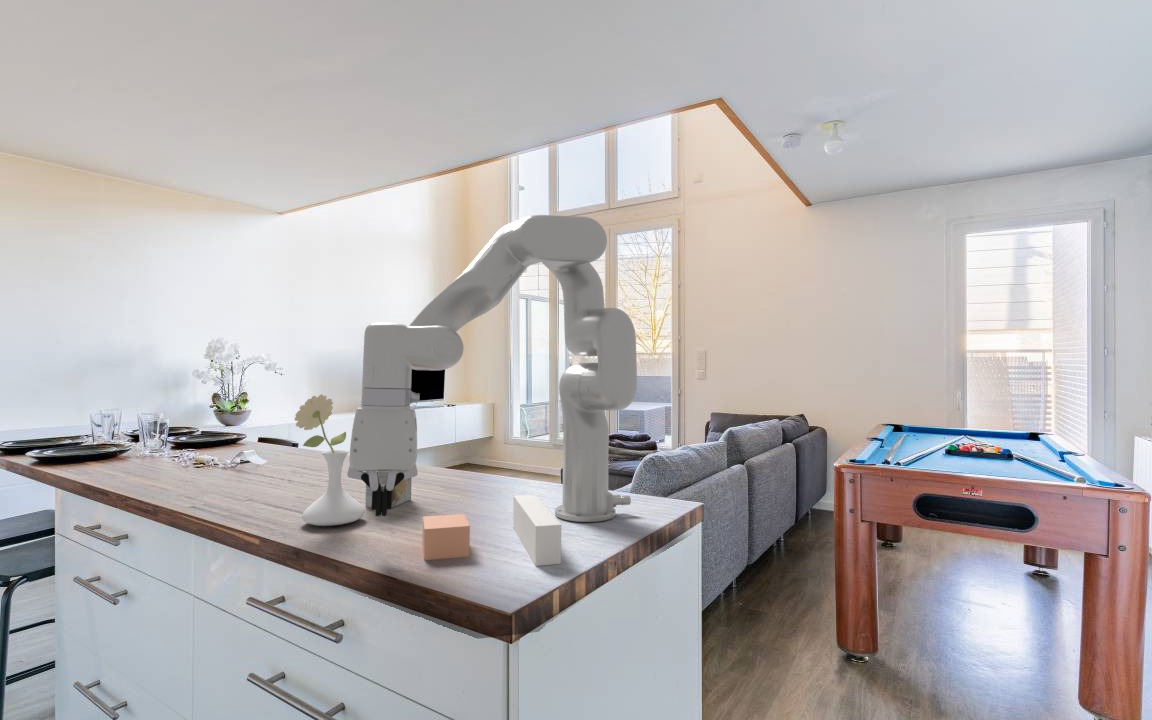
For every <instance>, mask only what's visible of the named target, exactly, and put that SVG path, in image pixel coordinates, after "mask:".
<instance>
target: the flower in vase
mask: <svg viewBox="0 0 1152 720" xmlns="http://www.w3.org/2000/svg"><path fill="white" fill-rule="evenodd" d="M333 403H334V402H333V400H332V398H327V395H324V394H323V393H322V394H319V395H318V396H316V395H313V396H311V398H308V399H307V400H306V401H305V402H304V404H300V406H299V410H298V411H297V412H296V413H295V417H294V418H293V419H294V421H295V422H296V423H295V426H296V427H297V428H299V429H303V430H304V431H311V430H313V429H314V428H315V429H316V428H318V427H319V426H320V427H321V431H322V434H323V436H322V435H313V436H311V437H310V438H308V439H307V440H306V441H305V442H304V443H303V444H302V447H306V448H307V447H308V448H317V447H319V446H320V445H321V444H322V443H323V442H324V440H325V441H326V443H327V445H328V446H329V449H330V450H324V451H321V454H322V456H323V457H324V458H325V461H326V463H327V469H328V470H327V471H328V482H327V483H328V484H327V487H326V491H325V492H324V493H323V494H322V495H321V496H320V497H318V498H317V499H316V500H315V501H313V502H312V503H311V504H310V505H308V507H307V508H306V509H305V510H304V511H303V512H302V514H301V519H302V521H303V522H304V523H307V524H309V525H313V526H319V527H320V526H321V527H331V526H340V525H341V526H342V525H346V524H349V523H353V522H355V521H357V520H360V519H362V518H363V517H364V516H365V514H366V509H365V508H364V506H363V505H362V504H361V503H360V502H359V501H358V500H356V499H355V498H354V497H352V496H350V495H349V494H348V493H347V492H346V491H345V490H344V489H343V486H342V485H343V484H342V471H343V465H344V462H345V459H346V457H347V455H348V454H350V450H349V449H334V448H333V446H336V445H340V444H342V443H344V442H345V441H346V439H347V438H346V437H347V432H346V431H344V432H343V433H341V434H339V435H337V436H334V437H332V438H331V439H330V442H329V439H328V438H327V436H326V435H327V434H326V433H325V428H324V424H325V423H326V421H327V420H328V419H329V417H330V416H331V415H332V413H333V412H332V410H333V408H334V407H333Z"/></svg>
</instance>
